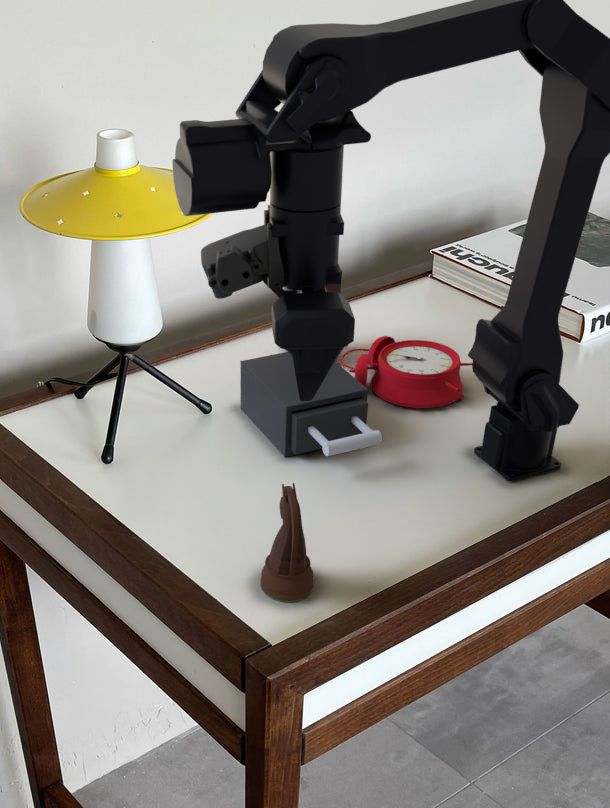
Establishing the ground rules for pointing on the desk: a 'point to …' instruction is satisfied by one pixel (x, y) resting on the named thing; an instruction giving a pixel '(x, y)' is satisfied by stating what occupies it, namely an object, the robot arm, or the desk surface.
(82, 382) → the desk surface
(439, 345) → the alarm clock
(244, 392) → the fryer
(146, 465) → the desk surface
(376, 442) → the drawer
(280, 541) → the chess piece
